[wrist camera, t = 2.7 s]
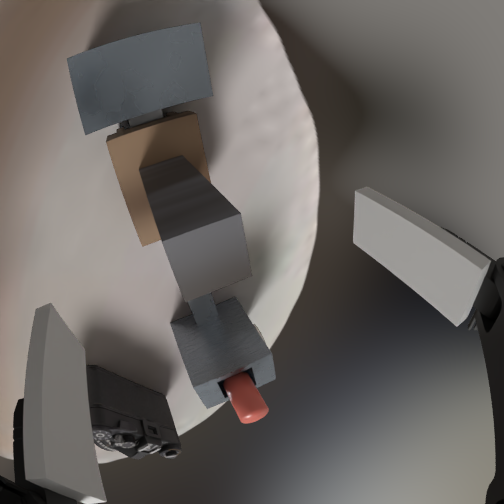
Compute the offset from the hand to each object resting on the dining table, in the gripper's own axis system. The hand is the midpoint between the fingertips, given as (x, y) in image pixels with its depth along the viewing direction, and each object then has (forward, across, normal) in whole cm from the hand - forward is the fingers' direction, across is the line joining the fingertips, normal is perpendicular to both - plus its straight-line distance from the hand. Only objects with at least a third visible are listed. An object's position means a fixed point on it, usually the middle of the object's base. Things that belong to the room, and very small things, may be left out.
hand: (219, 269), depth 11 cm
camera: (+16, -17, -26) cm, 35 cm away
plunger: (+7, 0, -19) cm, 20 cm away
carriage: (+15, 0, 0) cm, 15 cm away
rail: (+15, 0, -6) cm, 16 cm away
